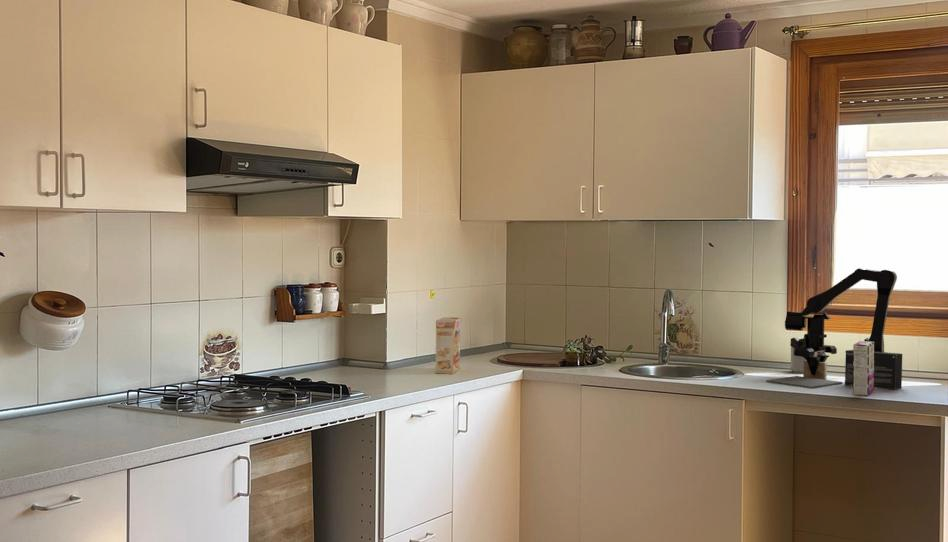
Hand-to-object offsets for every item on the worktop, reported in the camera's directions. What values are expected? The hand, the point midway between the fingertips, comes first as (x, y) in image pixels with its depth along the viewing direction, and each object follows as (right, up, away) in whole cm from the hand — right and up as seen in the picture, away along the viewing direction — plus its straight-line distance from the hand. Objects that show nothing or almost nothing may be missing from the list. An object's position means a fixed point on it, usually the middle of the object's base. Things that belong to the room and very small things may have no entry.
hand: (814, 374), depth 335 cm
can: (+1, -1, +16) cm, 16 cm away
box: (+13, -2, -18) cm, 22 cm away
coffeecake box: (-132, 0, +11) cm, 132 cm away
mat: (-8, -2, -11) cm, 14 cm away
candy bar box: (+4, -3, -32) cm, 33 cm away
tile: (0, -1, 0) cm, 1 cm away
